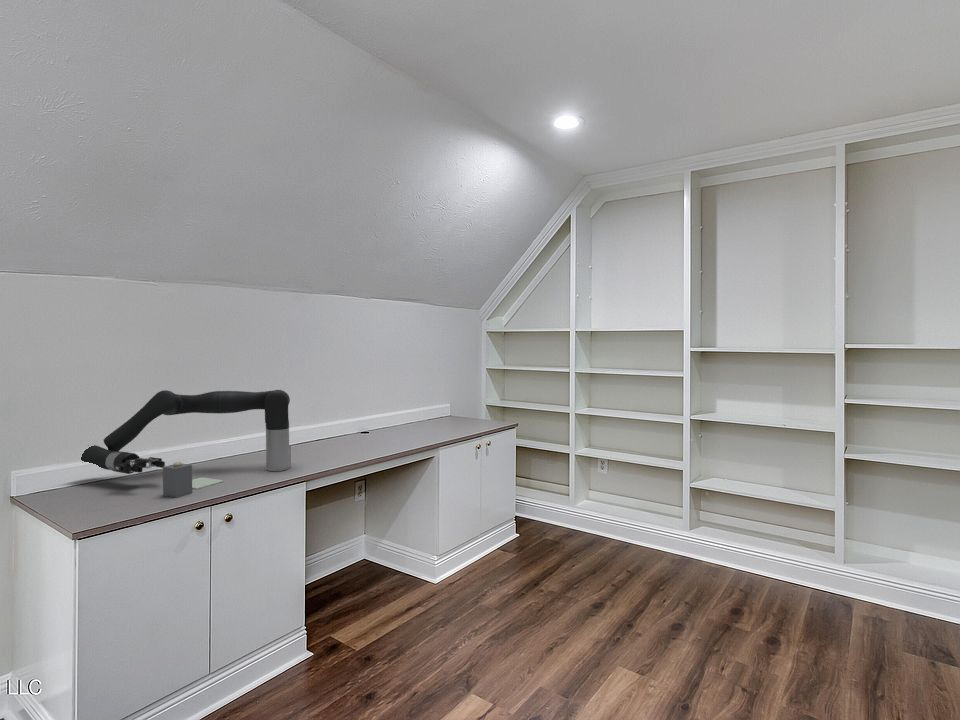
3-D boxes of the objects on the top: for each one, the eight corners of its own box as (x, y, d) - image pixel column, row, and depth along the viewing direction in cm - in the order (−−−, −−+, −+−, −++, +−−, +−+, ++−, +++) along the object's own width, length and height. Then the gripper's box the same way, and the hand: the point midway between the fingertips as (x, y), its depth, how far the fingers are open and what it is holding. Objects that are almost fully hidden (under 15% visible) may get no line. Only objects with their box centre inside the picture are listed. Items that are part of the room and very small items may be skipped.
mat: (201, 478, 216) (201, 477, 216) (224, 481, 211) (224, 480, 211) (173, 485, 205) (173, 484, 205) (197, 489, 200) (197, 488, 200)
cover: (179, 490, 198) (179, 460, 198) (192, 492, 196) (191, 462, 195) (163, 495, 192) (162, 463, 192) (176, 497, 190) (175, 465, 189)
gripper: (103, 455, 198) (133, 460, 192) (141, 448, 211) (170, 453, 205) (103, 476, 198) (133, 481, 192) (141, 468, 211) (170, 473, 205)
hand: (152, 466), depth 198 cm, fingers open, 8 cm apart
